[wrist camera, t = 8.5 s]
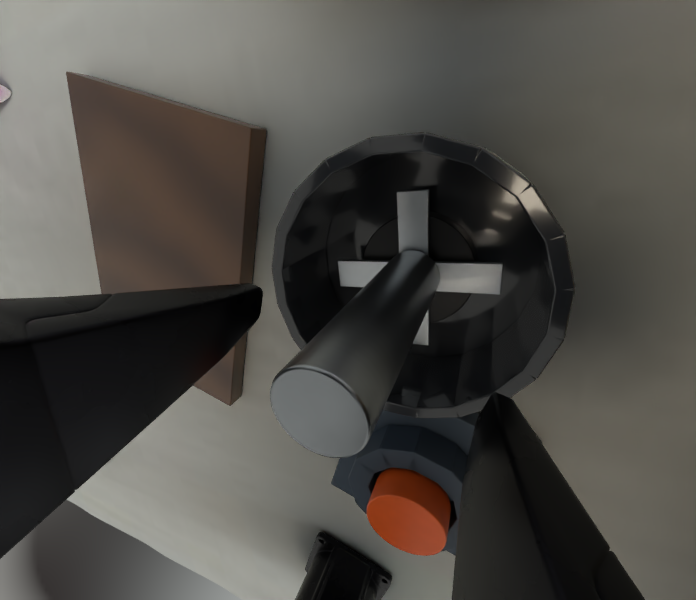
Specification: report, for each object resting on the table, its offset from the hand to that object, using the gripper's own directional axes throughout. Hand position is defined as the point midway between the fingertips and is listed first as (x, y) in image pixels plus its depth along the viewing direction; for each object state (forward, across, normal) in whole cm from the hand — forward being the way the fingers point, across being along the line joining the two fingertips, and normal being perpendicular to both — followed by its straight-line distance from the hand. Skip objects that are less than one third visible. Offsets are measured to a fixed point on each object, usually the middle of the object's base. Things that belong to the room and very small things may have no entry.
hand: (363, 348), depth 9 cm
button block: (+8, -4, +11) cm, 14 cm away
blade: (+7, 0, 0) cm, 7 cm away
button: (+5, -4, +11) cm, 13 cm away
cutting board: (+8, +15, +5) cm, 18 cm away
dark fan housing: (+8, 0, 0) cm, 8 cm away
